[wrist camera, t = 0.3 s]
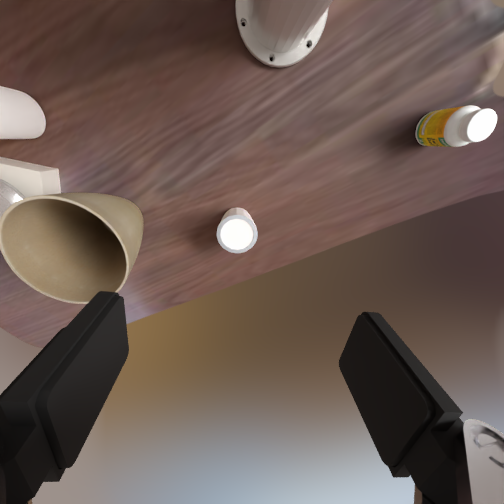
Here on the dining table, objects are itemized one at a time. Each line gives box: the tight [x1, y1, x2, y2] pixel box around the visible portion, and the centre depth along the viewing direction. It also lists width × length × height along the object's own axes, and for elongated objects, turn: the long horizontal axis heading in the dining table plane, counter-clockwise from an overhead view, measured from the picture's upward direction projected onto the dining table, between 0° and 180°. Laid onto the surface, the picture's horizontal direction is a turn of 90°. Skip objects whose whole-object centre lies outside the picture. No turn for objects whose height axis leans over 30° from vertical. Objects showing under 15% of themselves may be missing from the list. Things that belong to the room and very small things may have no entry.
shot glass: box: [217, 207, 258, 253], centre depth 42 cm, size 7×7×7 cm
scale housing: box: [0, 157, 61, 198], centre depth 39 cm, size 14×12×4 cm
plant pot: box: [0, 193, 143, 304], centre depth 36 cm, size 15×15×16 cm
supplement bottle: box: [415, 106, 497, 147], centre depth 36 cm, size 5×5×10 cm
